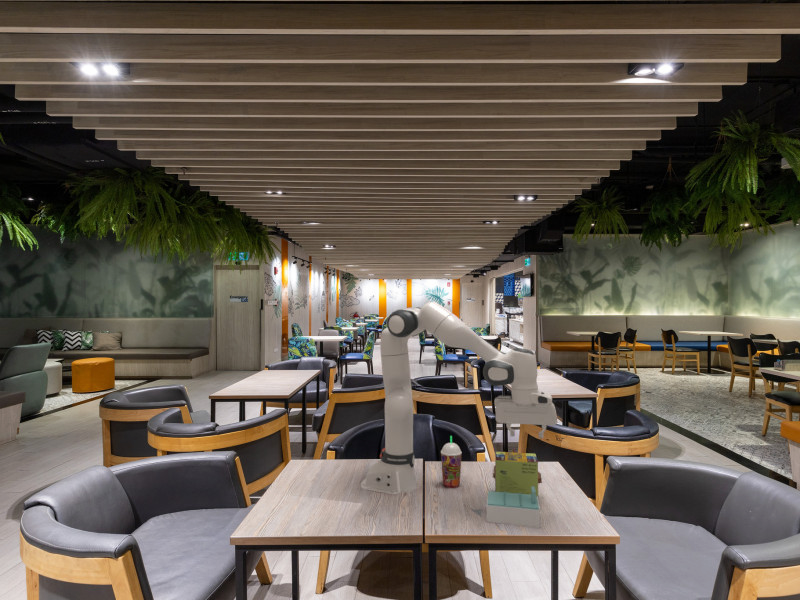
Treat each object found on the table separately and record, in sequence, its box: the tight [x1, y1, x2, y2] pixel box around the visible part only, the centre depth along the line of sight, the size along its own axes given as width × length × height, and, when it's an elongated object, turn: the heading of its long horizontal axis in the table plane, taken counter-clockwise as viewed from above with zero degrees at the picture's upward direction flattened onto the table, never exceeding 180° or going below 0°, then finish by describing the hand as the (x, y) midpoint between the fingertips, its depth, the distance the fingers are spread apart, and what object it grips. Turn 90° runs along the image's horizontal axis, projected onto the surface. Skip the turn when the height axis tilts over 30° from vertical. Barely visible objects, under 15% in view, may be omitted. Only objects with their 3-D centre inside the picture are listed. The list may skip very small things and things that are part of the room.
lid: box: [486, 486, 540, 510], centre depth 155 cm, size 16×10×6 cm, turn 77°
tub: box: [485, 494, 541, 529], centre depth 155 cm, size 17×11×6 cm, turn 77°
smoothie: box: [440, 435, 463, 489], centre depth 183 cm, size 8×8×20 cm
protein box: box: [494, 451, 539, 498], centre depth 172 cm, size 10×15×16 cm
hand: (526, 436), depth 156 cm, fingers open, 8 cm apart
